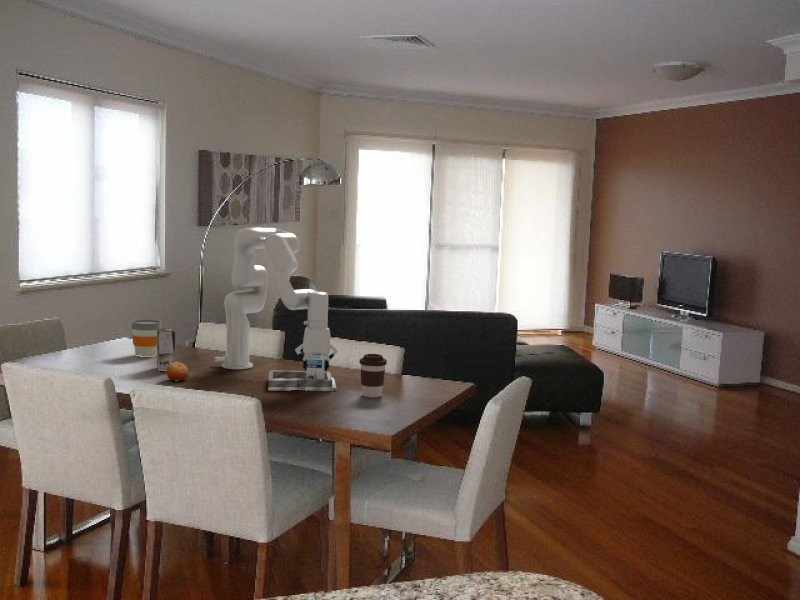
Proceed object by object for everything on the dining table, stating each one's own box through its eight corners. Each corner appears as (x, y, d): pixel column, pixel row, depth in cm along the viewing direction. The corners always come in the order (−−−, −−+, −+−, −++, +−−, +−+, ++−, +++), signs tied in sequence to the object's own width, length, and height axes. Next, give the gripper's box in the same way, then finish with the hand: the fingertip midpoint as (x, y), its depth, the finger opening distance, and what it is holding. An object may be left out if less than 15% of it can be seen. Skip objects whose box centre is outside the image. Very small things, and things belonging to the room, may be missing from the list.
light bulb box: (323, 383, 303) (324, 355, 301) (305, 383, 302) (306, 354, 301) (325, 377, 313) (326, 350, 312) (307, 376, 313) (308, 349, 312)
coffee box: (175, 371, 322) (175, 331, 320) (158, 372, 319) (158, 331, 318) (172, 366, 330) (173, 328, 328) (156, 367, 328) (156, 328, 326)
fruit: (173, 372, 312) (181, 356, 310) (186, 385, 310) (194, 369, 307) (157, 376, 306) (165, 359, 303) (170, 389, 303) (178, 373, 300)
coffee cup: (361, 399, 289) (363, 358, 287) (355, 392, 298) (356, 352, 297) (388, 398, 292) (390, 357, 290) (381, 392, 301) (382, 352, 299)
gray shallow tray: (268, 390, 296) (268, 380, 296) (269, 379, 314) (269, 370, 314) (336, 390, 300) (336, 381, 300) (333, 380, 318) (333, 371, 317)
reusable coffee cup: (126, 357, 345) (127, 323, 343) (137, 352, 357) (137, 319, 355) (155, 359, 344) (156, 324, 343) (165, 354, 357) (165, 320, 355)
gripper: (294, 325, 300) (292, 372, 302) (341, 326, 303) (339, 373, 305) (294, 322, 308) (292, 368, 310) (339, 323, 310) (338, 369, 312)
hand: (315, 370), depth 307 cm, fingers closed on light bulb box, 7 cm apart
